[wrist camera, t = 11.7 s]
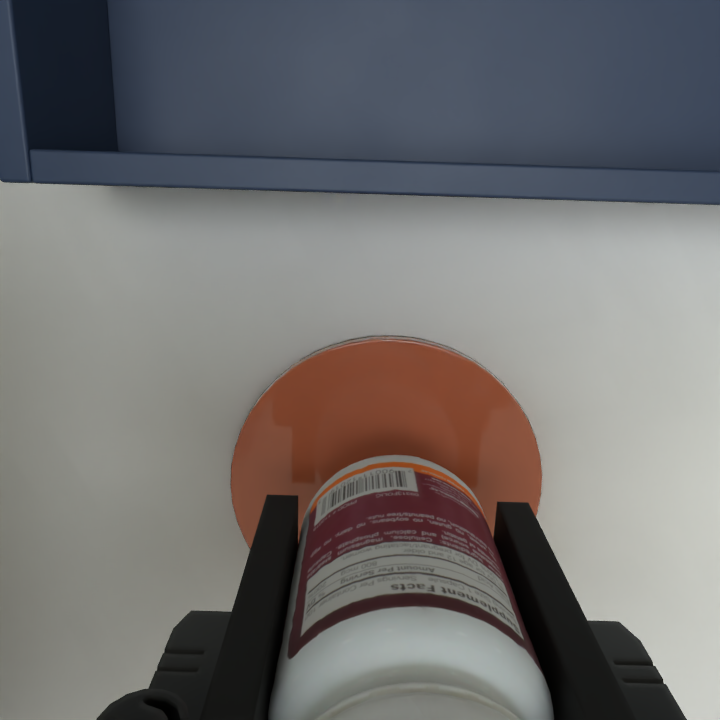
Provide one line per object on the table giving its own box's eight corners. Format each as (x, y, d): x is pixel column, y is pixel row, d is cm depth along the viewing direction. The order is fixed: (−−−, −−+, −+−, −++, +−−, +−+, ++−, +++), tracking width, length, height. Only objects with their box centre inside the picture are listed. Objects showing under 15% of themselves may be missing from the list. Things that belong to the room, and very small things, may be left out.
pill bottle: (444, 634, 17) (516, 1047, 9) (276, 580, 17) (195, 962, 9) (518, 485, 16) (679, 810, 8) (338, 422, 15) (311, 697, 7)
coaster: (236, 608, 20) (234, 617, 20) (228, 330, 17) (225, 334, 17) (522, 616, 20) (525, 624, 20) (555, 340, 17) (560, 344, 17)
